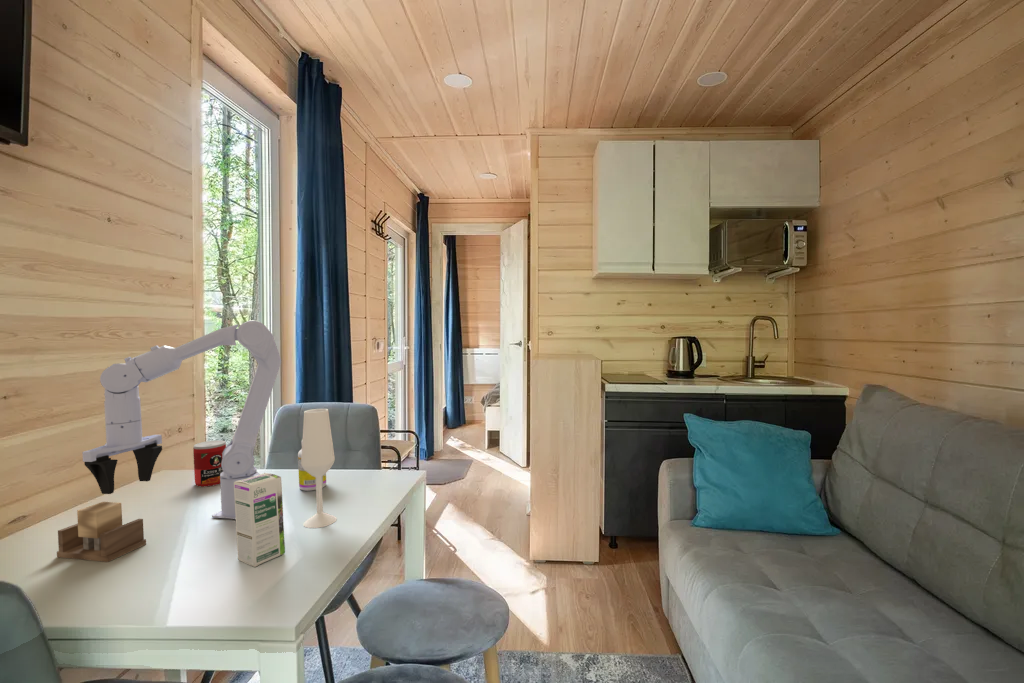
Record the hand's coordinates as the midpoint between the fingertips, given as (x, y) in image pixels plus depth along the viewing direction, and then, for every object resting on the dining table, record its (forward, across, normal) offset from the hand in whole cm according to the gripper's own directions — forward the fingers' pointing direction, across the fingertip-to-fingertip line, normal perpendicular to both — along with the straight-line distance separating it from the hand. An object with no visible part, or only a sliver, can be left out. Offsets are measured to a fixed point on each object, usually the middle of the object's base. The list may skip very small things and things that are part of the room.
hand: (127, 486), depth 95 cm
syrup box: (+10, +5, +35) cm, 37 cm away
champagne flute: (+10, -11, +37) cm, 40 cm away
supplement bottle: (+10, -31, +21) cm, 39 cm away
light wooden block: (+6, +7, +2) cm, 10 cm away
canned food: (+10, -32, -11) cm, 35 cm away
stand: (+10, +7, +2) cm, 12 cm away
